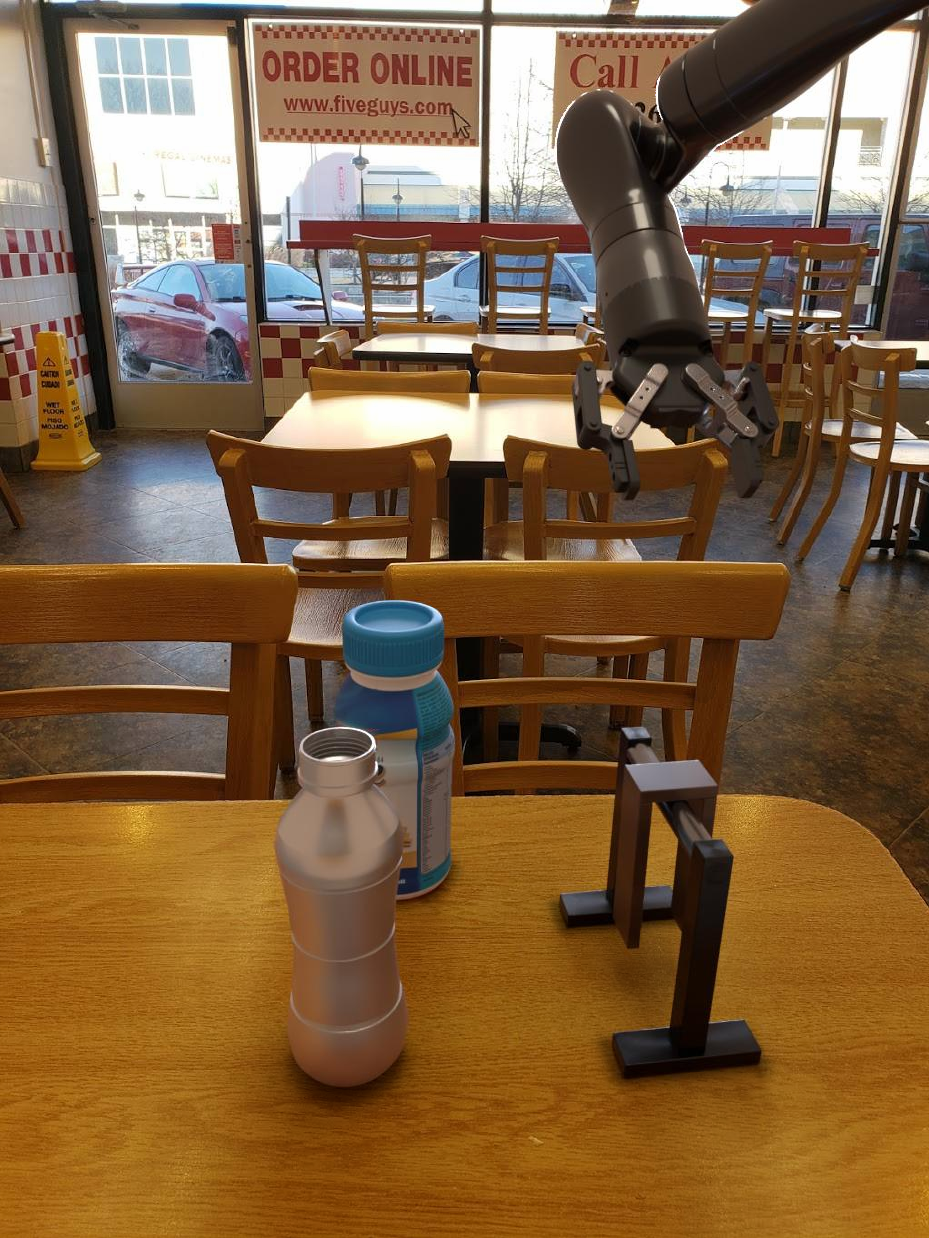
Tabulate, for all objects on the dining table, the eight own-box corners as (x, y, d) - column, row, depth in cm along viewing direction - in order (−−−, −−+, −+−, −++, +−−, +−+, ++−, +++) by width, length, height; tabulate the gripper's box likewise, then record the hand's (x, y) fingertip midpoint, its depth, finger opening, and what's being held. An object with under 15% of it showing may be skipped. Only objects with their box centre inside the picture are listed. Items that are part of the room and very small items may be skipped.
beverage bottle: (472, 887, 67) (479, 628, 60) (360, 918, 64) (353, 648, 57) (425, 825, 74) (426, 588, 67) (322, 851, 71) (312, 603, 64)
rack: (668, 896, 67) (689, 720, 62) (760, 1064, 53) (796, 856, 48) (558, 905, 66) (571, 727, 61) (623, 1079, 52) (646, 867, 47)
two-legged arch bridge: (682, 910, 60) (698, 759, 56) (699, 942, 57) (718, 785, 53) (612, 917, 59) (624, 764, 55) (626, 949, 56) (640, 791, 52)
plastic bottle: (424, 1083, 51) (425, 763, 44) (302, 1121, 49) (282, 789, 42) (389, 1001, 57) (385, 705, 50) (277, 1031, 55) (256, 725, 47)
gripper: (570, 271, 67) (606, 465, 60) (759, 274, 69) (813, 462, 62) (549, 342, 73) (579, 523, 67) (721, 343, 76) (766, 518, 69)
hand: (691, 493), depth 65 cm, fingers open, 8 cm apart
